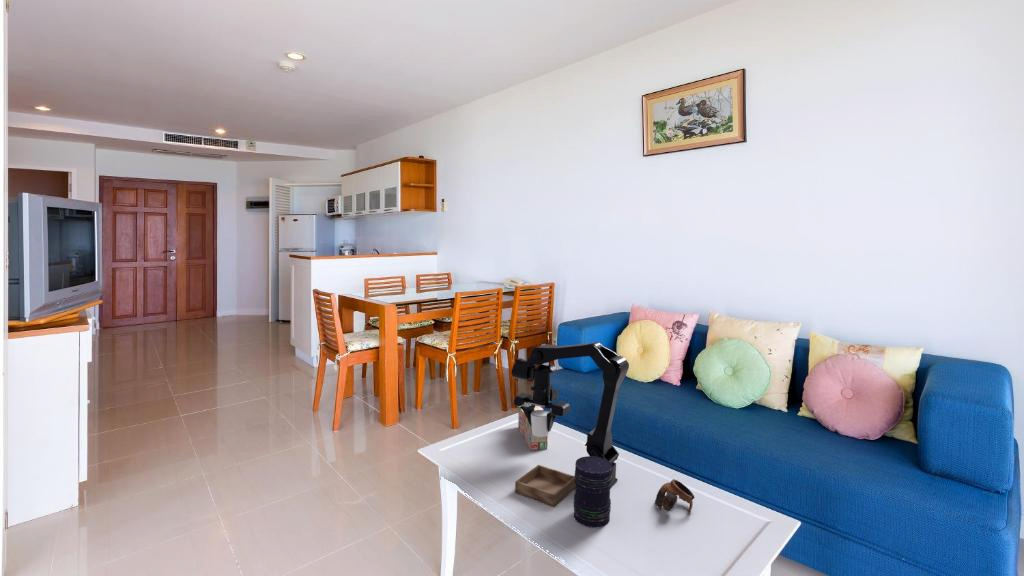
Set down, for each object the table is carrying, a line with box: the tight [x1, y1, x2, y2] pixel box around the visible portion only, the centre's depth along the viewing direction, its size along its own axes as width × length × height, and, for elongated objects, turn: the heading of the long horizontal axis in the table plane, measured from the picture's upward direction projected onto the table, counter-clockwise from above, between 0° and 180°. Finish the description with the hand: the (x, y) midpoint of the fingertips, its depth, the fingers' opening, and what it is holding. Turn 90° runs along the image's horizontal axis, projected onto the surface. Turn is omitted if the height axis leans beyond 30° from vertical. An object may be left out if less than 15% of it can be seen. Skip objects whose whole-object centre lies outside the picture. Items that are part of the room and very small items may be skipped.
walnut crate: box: [514, 464, 576, 508], centre depth 147 cm, size 13×13×4 cm
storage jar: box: [573, 455, 612, 529], centre depth 133 cm, size 10×10×15 cm
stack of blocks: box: [517, 406, 549, 451], centre depth 184 cm, size 21×6×12 cm, turn 11°
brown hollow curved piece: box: [654, 478, 696, 513], centre depth 138 cm, size 12×10×8 cm
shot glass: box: [531, 409, 550, 437], centre depth 164 cm, size 7×7×7 cm
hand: (540, 429), depth 164 cm, fingers closed on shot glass, 6 cm apart
